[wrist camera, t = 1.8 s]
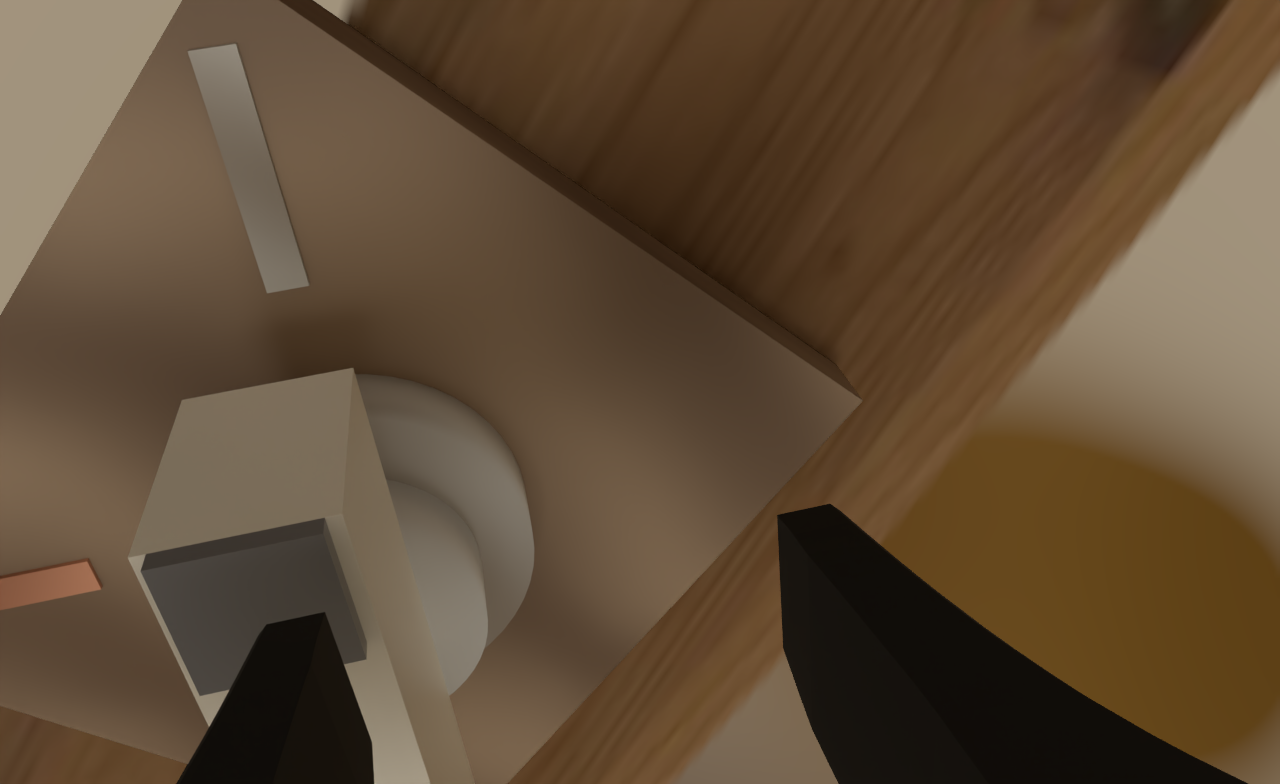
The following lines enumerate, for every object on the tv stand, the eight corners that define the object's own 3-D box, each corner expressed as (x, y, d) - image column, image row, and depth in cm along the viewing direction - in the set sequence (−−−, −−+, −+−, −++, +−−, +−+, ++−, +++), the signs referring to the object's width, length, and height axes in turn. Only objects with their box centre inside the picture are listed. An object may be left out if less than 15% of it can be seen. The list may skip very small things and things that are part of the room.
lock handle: (524, 736, 22) (558, 987, 17) (310, 786, 21) (287, 1057, 17) (420, 309, 16) (430, 511, 12) (131, 362, 16) (26, 594, 11)
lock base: (447, 795, 27) (452, 901, 24) (-155, 592, 20) (-233, 707, 18) (836, 365, 22) (892, 440, 20) (224, -62, 16) (192, -31, 14)
